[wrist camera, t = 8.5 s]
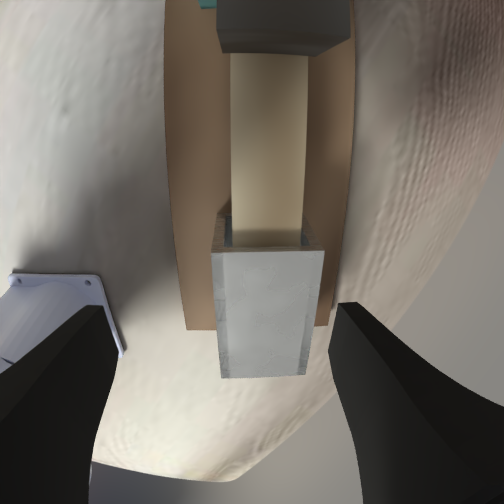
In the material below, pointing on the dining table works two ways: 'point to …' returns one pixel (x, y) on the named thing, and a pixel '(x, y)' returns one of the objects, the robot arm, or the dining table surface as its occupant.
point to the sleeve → (264, 303)
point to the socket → (207, 4)
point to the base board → (219, 151)
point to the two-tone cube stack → (272, 108)
